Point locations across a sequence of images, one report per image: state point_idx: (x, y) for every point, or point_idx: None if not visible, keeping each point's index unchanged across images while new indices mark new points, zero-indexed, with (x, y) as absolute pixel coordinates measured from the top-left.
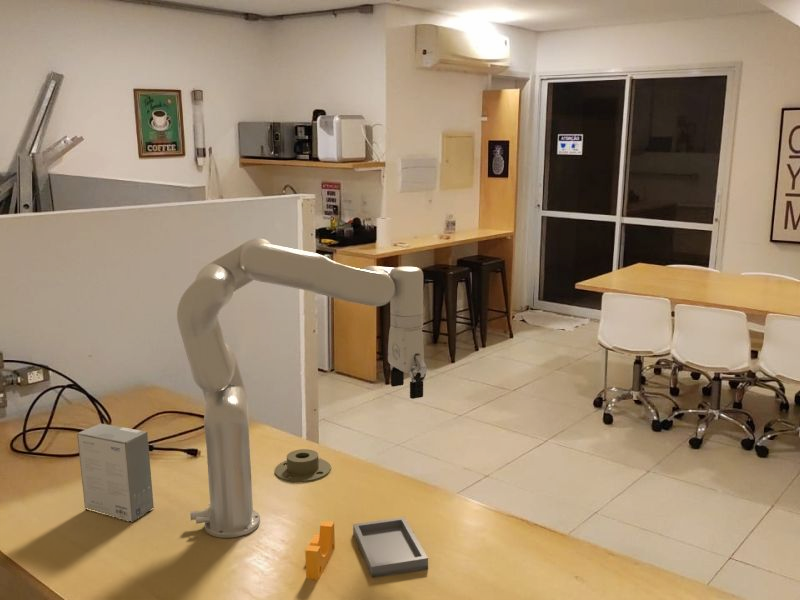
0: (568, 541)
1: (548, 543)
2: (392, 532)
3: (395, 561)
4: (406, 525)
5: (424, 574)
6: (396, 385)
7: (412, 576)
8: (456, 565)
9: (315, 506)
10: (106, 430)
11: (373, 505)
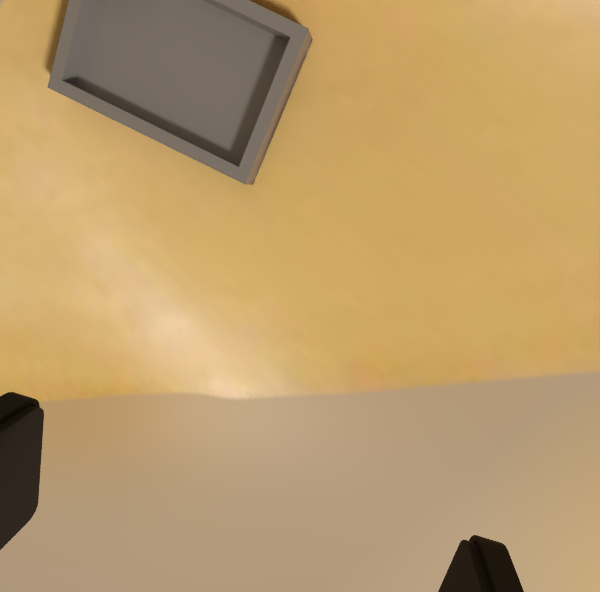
0: None
1: (19, 370)
2: (234, 126)
3: (76, 1)
4: (205, 156)
5: None
6: (446, 577)
7: None
8: (48, 159)
9: (539, 46)
10: None
11: (405, 199)
